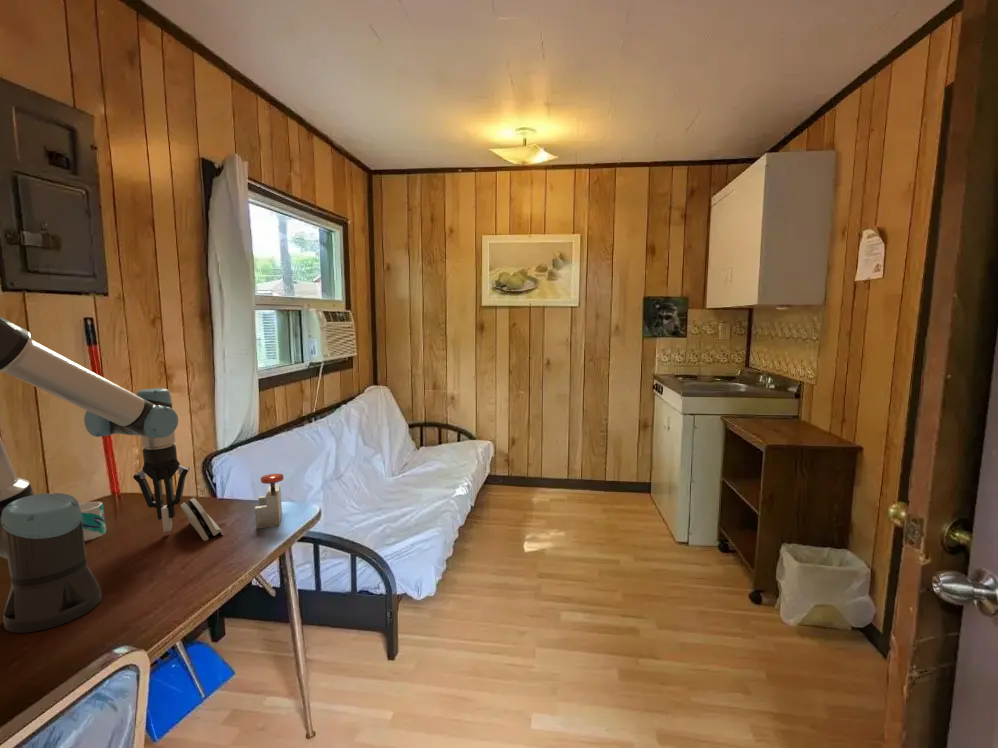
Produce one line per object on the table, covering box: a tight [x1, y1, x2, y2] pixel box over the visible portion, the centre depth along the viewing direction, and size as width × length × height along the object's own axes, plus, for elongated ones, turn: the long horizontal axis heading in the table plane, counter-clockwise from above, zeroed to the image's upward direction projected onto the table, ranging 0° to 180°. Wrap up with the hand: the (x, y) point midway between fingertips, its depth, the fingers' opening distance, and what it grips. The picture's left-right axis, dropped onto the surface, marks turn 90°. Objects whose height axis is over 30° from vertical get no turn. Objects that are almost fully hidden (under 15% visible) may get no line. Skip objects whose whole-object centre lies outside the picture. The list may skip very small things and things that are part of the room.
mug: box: [79, 501, 107, 542], centre depth 142 cm, size 8×12×8 cm
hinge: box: [180, 497, 225, 542], centre depth 143 cm, size 17×5×10 cm, turn 42°
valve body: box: [254, 473, 284, 530], centre depth 148 cm, size 10×8×13 cm
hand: (167, 529), depth 141 cm, fingers closed
